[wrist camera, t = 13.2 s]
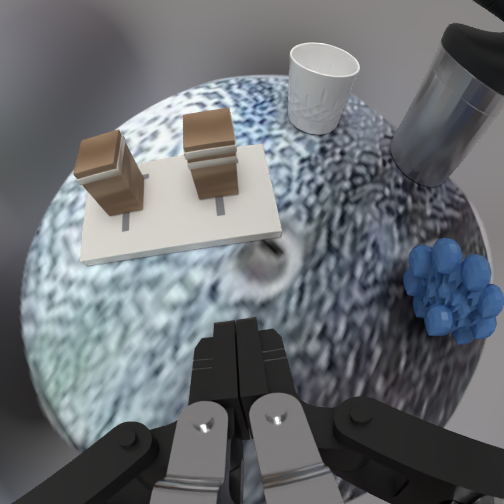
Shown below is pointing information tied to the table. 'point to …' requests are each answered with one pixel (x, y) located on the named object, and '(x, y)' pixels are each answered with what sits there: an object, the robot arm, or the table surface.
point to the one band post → (110, 173)
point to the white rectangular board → (183, 213)
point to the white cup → (319, 86)
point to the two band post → (211, 152)
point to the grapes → (453, 291)
